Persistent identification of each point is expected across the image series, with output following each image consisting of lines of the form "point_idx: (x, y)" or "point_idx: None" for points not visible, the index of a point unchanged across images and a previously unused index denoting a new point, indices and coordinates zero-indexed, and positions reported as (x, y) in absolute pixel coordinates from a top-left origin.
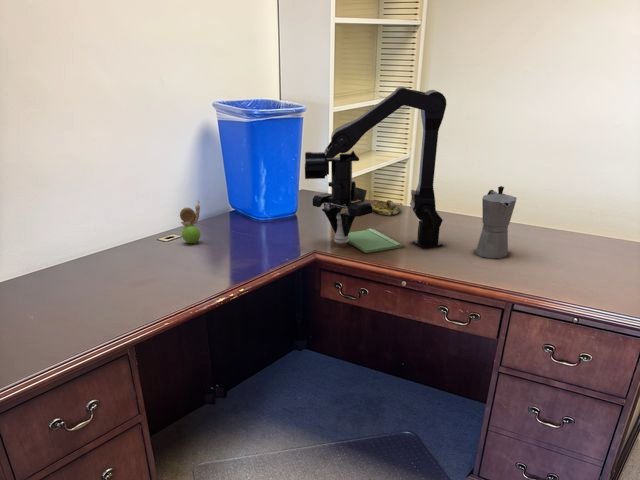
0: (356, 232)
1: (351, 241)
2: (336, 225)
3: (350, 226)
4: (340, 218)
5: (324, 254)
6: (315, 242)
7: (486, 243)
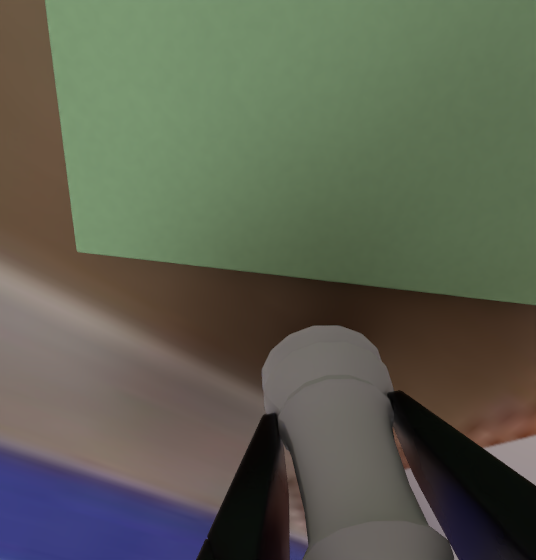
0: (86, 53)
1: (322, 277)
2: (279, 517)
3: (509, 478)
4: None
5: None
6: (153, 426)
7: None
